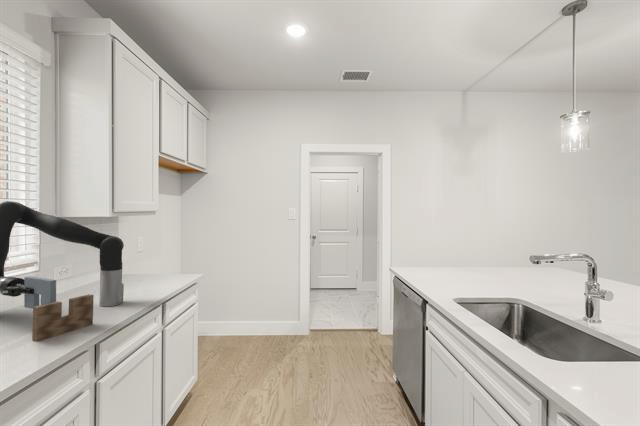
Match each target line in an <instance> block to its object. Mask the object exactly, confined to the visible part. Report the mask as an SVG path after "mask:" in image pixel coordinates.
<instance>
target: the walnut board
mask: <svg viewBox="0 0 640 426" xmlns="http://www.w3.org/2000/svg"><path fill="white" fill-rule="evenodd" d="M94 297H95V296H94V294H90V293H89V294H84V295H79V296H76V297H71V298H68V314H66V315H63V312H62V311H63V310H62V309H63V301H62V302H61V301H57V300H56V302H52V303H48V304H43V305H41V304H39V306H34V307H33V309H32V333H31V336H32V338H31V341H33V342H39V341H43V340H46V339H49V338H53V337H56V336H60V335H63V334H65V333H69V332H72V331H75V330H79V329H82V328H85V327H88V326H92V325H93V323H94Z"/></svg>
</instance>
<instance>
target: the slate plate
mask: <svg viewBox="0 0 640 426" xmlns="http://www.w3.org/2000/svg"><path fill="white" fill-rule="evenodd" d="M23 279H24V287H27V288H33V289H34V294H27V293H26V294H23V295H24V296H23V298H24V301H23V303H24V306H23V307H24V308H26V309H31V310H33V307H34V306H39V305H43V304H48V303H52V302H57V280H56V279H52V278H46V277H38V276H37V277H36V276H24V278H23Z"/></svg>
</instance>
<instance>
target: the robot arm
mask: <svg viewBox="0 0 640 426" xmlns="http://www.w3.org/2000/svg"><path fill="white" fill-rule="evenodd" d="M15 224H21V225H24V226H28V227H32V228H34V229H37V230H39V231H40V232H42V233H44V234H46V235H49V236H51V237H52V238H53V237H54V238H56V239H59V240H61V241H65V242H69V243H74V244H81V245H87V246H90V247H93V248H96V249H99V266H100V270H99V271H100V272H99V274H100V275H99V302H98V303H99V306H100V307H115V306H118V305H121V304H122V303H124V287H125V286H124V283H123V250H124V246H125V244H124V241H123V240H122V239H121V238H120V237H119V236H114V235H110V234H107V233H102V232H99V231H96V230H93V229H92V228H89V227H86V226H84V225H82V224H79V223H77V222H74V221H71V220H68V219H65V218H62V217H59V216H55V215H51V214H46V213H43V212H40V211H37V210H35V209H33V208H31V207H28V206H27V205H24V204H22V203H20V202H16V201H12V200H4V201H2V202H0V295H2V296H8V297H15V298H16V297H20V296H21V295H24V294H26V293H27V294H34V289H33V288H27V287H24V278H22V277H15V276H5V264H6V262H7V261H6V260H7V257H8V255H9V250H10V243H11V242H10V241H11V240H10V239H11V238H10V237H11V233H12V230H13V228H14V226H15Z"/></svg>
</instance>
